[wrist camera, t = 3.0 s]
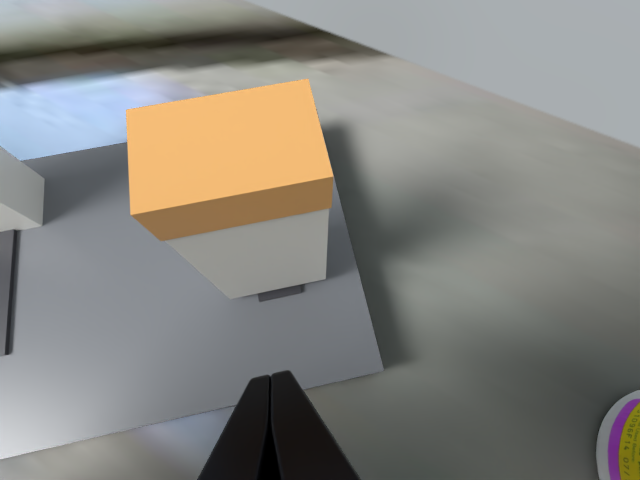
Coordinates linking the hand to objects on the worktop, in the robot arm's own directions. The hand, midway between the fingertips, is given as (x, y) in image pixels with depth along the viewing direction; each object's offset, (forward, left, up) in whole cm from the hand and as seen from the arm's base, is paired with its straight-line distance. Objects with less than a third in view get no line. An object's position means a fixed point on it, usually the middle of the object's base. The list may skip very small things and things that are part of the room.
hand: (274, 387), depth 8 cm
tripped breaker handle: (+1, +5, -7) cm, 8 cm away
